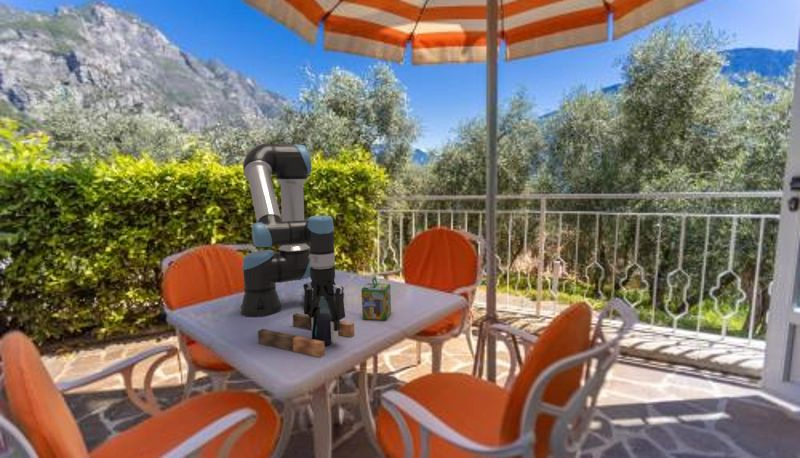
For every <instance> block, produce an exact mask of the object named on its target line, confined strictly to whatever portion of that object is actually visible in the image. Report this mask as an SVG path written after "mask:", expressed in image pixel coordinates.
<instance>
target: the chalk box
mask: <svg viewBox="0 0 800 458" xmlns="http://www.w3.org/2000/svg"><path fill="white" fill-rule="evenodd" d="M371 280H372V282H370V283H367V284H366V285H364V286H363V287H362V288H361V304H362V306H361V307H362V311H361V312H362V320H372V321H373V320H375V321H387V320H388V318H389V317H390V316H391V313H392V306H391V305H392V303H391V300H392V299H391V284H389V283H379V282H378V281H377V277H376V275H375V276H373V277H372V279H371Z"/></svg>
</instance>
